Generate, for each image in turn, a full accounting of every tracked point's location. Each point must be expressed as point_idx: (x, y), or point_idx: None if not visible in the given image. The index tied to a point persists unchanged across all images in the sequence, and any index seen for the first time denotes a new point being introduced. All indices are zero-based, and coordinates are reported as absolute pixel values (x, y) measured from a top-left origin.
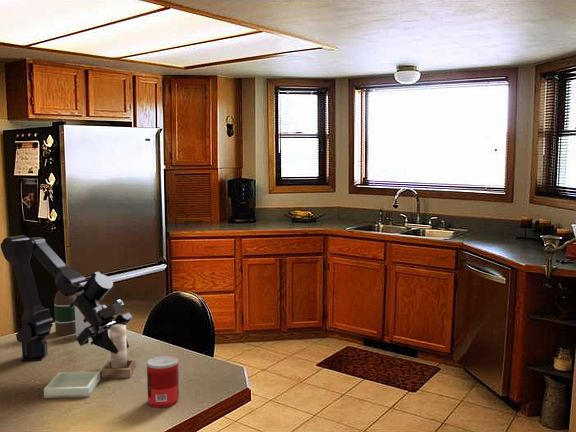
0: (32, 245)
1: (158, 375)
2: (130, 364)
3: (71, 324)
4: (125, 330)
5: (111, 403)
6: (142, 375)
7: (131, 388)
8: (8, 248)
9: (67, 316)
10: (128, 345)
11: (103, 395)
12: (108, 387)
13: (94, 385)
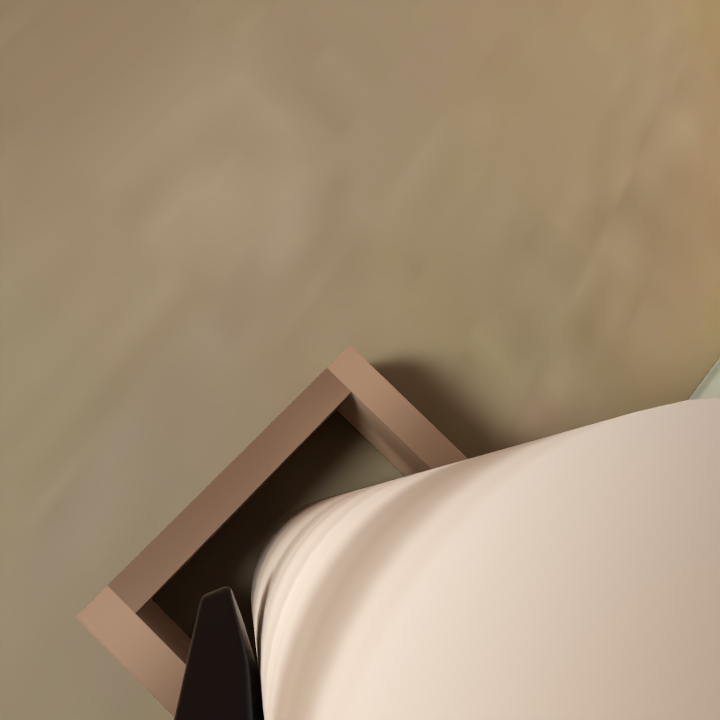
0: None
1: None
2: (256, 483)
3: None
4: (442, 492)
5: (689, 68)
6: (214, 327)
7: (461, 160)
8: None
9: None
10: (211, 604)
11: (683, 220)
12: (593, 326)
13: (713, 387)
